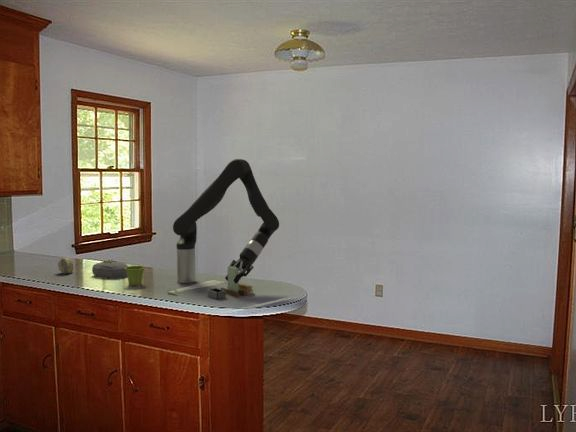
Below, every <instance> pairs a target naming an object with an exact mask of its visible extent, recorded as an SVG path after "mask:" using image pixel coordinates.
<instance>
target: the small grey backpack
mask: <svg viewBox="0 0 576 432" xmlns="http://www.w3.org/2000/svg"><path fill="white" fill-rule="evenodd" d="M126 267H129V265H127V264H126V263H124V262H120V261H116V260H110V259H108V260H104V261H101V262H97V263H95V264H93V265H92V267H91V268H92V269H91V272H92V274H93V276H96V277H98V278H104V279H119V278H120V279H121V278H124V277H128V276H127V272H126V269H125V268H126Z"/></svg>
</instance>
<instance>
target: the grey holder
mask: <svg viewBox="0 0 576 432" xmlns="http://www.w3.org/2000/svg"><path fill="white" fill-rule="evenodd" d="M206 297H208V298H211V299H213V300H222V299H227V295H226V291H225V290H221V288H217V287H216V288H215V287H213V288H209V289H207V294H206Z"/></svg>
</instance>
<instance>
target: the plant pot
mask: <svg viewBox="0 0 576 432" xmlns="http://www.w3.org/2000/svg"><path fill="white" fill-rule="evenodd" d="M125 269H126V272H127V276H126V277H127V281H128V286H131V287H132V286H140V285H142V284H143V273H144V269H145V266H143V265H131V266H129V265H128V267H126V268H125Z"/></svg>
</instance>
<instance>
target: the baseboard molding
mask: <svg viewBox="0 0 576 432" xmlns="http://www.w3.org/2000/svg"><path fill="white" fill-rule="evenodd" d="M226 283H227V282H226V281H223V280H222V281H221V280H215V279H211V280H208V281H207V280H206V281H203V282H200V283H195V284H191V285H188V286H184V287H181V288H176V289H174V290H169V289H168V290H167V294H168V295H173V296H178V297H179V294H175V293H180V294H181V293H182V292H184V291H189V290H194V289H199V288H206V287H210V286H216V285H222V284H223V285H224V284H226Z"/></svg>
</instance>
